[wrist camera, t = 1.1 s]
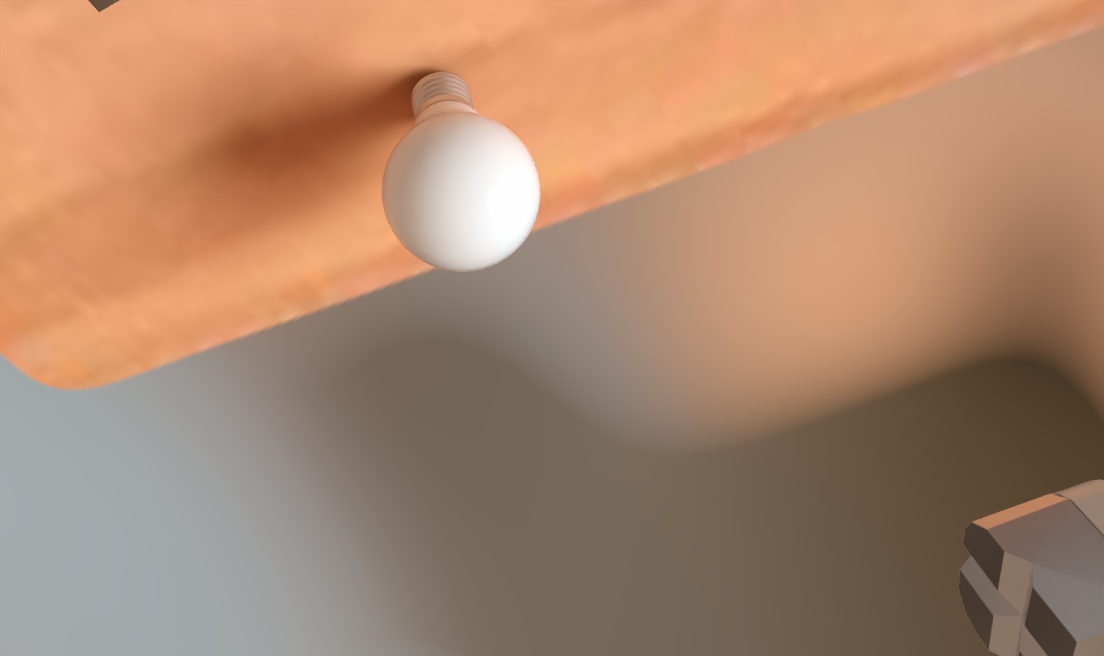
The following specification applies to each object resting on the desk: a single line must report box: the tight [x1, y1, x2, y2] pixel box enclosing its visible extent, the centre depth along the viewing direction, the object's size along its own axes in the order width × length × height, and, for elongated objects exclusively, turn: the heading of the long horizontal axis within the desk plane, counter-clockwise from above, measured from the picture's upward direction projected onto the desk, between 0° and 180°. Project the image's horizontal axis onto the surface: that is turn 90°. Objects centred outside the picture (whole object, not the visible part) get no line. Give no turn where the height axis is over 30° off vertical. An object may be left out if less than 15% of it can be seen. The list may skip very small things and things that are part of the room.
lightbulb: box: [382, 72, 540, 272], centre depth 42 cm, size 6×6×11 cm
